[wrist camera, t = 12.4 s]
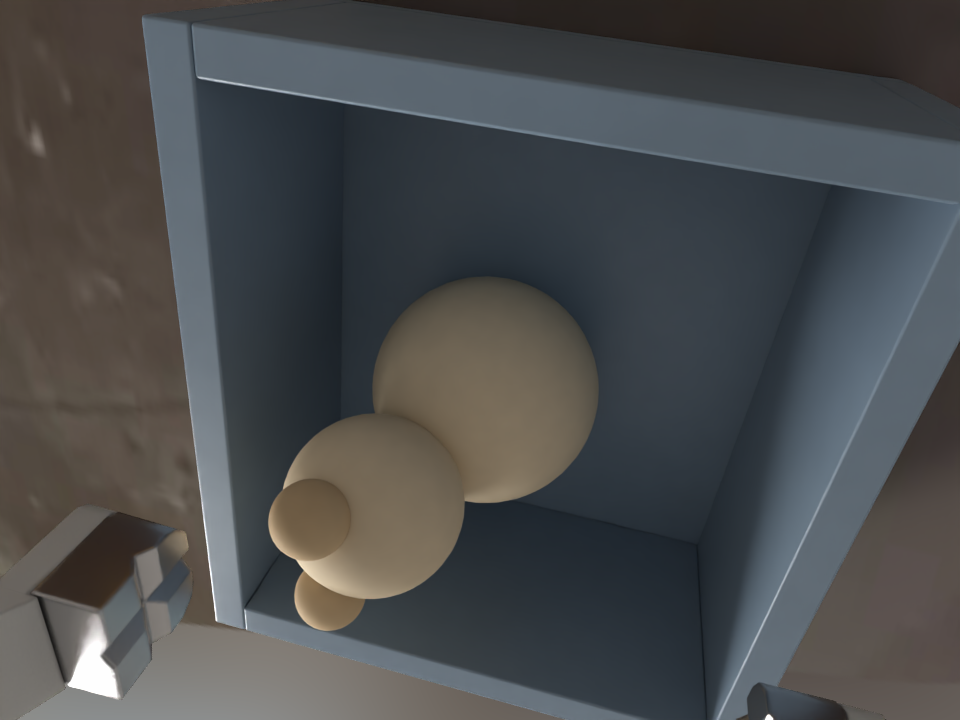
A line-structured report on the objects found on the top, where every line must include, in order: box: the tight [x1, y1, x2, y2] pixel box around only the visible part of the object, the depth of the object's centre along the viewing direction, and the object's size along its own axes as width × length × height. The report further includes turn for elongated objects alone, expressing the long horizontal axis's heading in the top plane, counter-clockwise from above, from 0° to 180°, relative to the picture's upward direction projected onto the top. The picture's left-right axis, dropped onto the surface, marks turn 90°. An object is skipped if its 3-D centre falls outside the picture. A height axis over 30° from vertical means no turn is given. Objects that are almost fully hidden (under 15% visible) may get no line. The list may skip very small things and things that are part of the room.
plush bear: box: [268, 276, 599, 631], centre depth 15 cm, size 5×5×9 cm
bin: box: [142, 0, 960, 720], centre depth 16 cm, size 13×14×7 cm
